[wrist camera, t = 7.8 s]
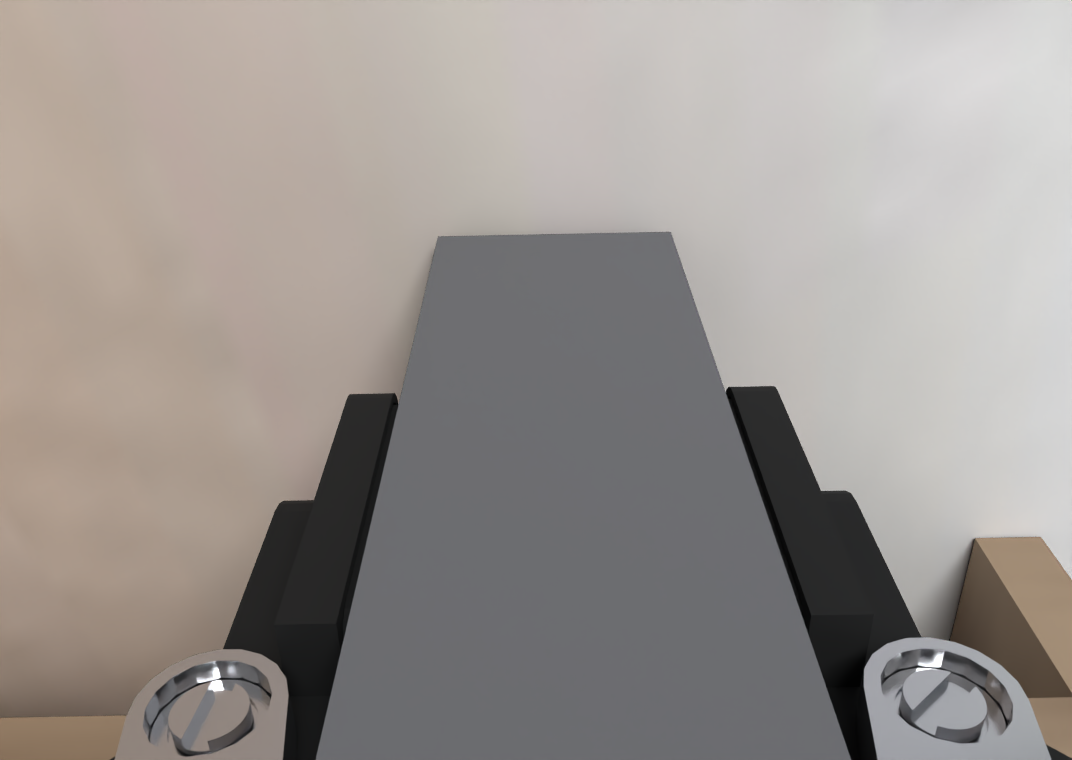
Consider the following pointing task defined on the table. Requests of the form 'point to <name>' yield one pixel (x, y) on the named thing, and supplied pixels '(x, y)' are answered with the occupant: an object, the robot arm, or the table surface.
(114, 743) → the wooden bench
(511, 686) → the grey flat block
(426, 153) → the table surface
